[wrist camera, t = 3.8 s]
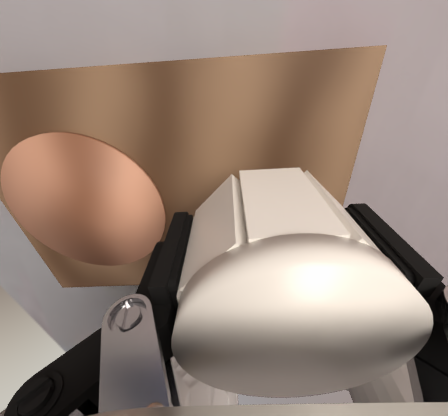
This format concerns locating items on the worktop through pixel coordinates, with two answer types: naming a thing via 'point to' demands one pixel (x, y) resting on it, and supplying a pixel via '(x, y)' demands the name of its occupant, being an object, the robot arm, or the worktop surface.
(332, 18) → the worktop surface
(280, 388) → the cap
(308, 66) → the post board
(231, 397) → the white cup
